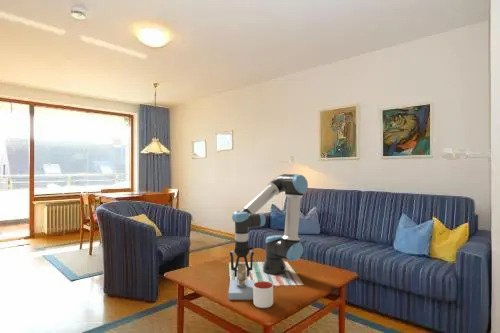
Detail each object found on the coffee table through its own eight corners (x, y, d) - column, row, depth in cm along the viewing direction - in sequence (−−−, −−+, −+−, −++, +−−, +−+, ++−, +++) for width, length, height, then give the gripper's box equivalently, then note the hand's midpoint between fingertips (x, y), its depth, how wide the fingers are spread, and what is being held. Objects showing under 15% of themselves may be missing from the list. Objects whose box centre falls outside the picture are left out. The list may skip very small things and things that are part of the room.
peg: (245, 283, 174) (245, 262, 174) (245, 286, 169) (245, 265, 169) (238, 283, 174) (237, 262, 174) (237, 286, 169) (237, 265, 169)
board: (254, 286, 181) (254, 280, 181) (255, 299, 163) (255, 292, 163) (230, 286, 181) (230, 280, 181) (228, 299, 163) (228, 293, 163)
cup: (252, 300, 161) (252, 281, 161) (271, 299, 162) (271, 280, 162) (254, 309, 151) (254, 289, 151) (274, 308, 152) (274, 288, 152)
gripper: (257, 238, 175) (257, 279, 175) (226, 238, 175) (226, 279, 175) (257, 241, 168) (257, 285, 168) (225, 242, 168) (225, 285, 168)
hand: (241, 282), depth 172 cm, fingers closed on peg, 4 cm apart
